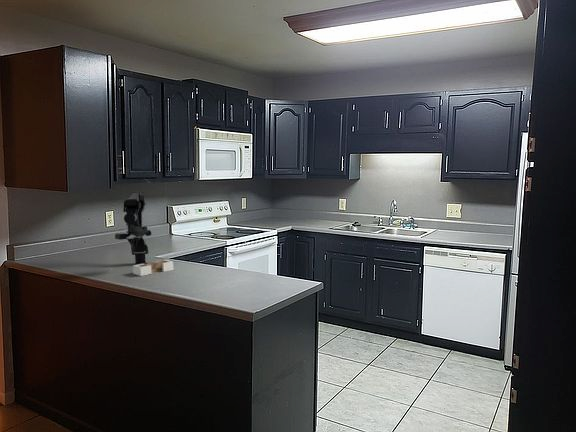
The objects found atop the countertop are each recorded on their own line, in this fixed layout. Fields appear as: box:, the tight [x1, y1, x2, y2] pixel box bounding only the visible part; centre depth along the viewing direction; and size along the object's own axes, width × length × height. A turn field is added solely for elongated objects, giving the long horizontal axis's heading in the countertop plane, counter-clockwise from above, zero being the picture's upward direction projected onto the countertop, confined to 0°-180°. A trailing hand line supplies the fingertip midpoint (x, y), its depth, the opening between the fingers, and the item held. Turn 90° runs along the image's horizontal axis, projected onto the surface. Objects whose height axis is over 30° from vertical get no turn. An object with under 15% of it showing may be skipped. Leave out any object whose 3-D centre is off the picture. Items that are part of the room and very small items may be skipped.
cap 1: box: [132, 264, 153, 277], centre depth 248 cm, size 8×6×4 cm
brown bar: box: [140, 259, 167, 274], centre depth 253 cm, size 16×4×5 cm, turn 144°
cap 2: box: [155, 259, 174, 272], centre depth 258 cm, size 8×6×4 cm
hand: (134, 250), depth 253 cm, fingers closed
